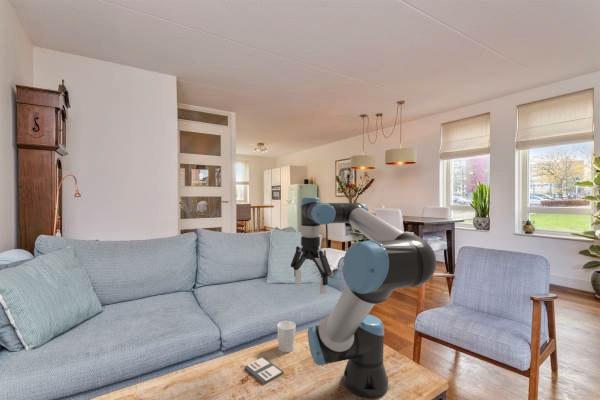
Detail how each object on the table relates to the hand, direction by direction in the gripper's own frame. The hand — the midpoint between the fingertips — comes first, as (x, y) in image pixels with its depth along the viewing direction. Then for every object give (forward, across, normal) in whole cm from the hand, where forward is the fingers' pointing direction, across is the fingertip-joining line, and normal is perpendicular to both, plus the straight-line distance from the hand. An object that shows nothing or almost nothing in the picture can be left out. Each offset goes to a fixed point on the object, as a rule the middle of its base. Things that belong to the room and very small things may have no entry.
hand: (310, 289), depth 114 cm
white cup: (+28, +12, +2) cm, 30 cm away
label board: (+28, +6, +19) cm, 34 cm away
